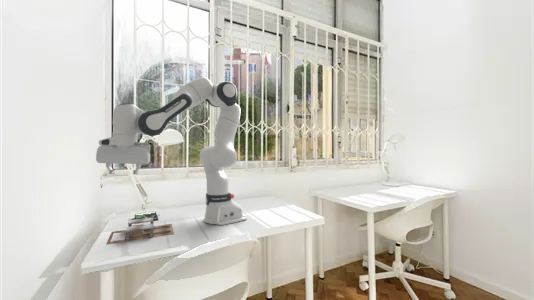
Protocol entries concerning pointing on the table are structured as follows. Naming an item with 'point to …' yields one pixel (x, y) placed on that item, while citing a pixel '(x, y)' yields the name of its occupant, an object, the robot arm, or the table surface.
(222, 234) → the table surface
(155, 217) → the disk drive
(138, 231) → the block
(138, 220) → the brown wooden flat frame
